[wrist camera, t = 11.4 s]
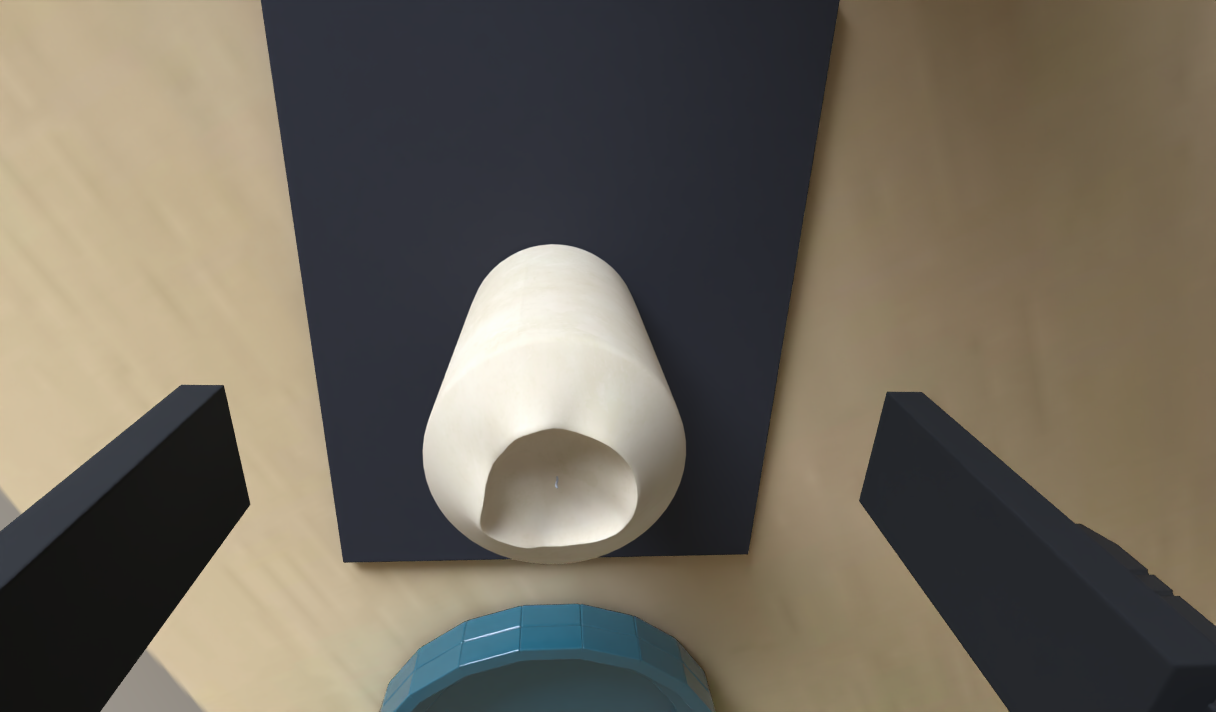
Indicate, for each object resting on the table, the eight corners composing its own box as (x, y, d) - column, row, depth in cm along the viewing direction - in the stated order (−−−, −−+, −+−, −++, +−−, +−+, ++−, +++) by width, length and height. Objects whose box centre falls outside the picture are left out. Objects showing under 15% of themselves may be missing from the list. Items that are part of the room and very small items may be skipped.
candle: (501, 414, 22) (467, 643, 13) (446, 268, 20) (358, 418, 11) (652, 372, 22) (725, 574, 13) (613, 221, 20) (667, 333, 11)
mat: (260, -43, 17) (253, -45, 16) (835, -4, 18) (840, -6, 18) (346, 556, 24) (342, 563, 24) (745, 548, 26) (748, 554, 26)
